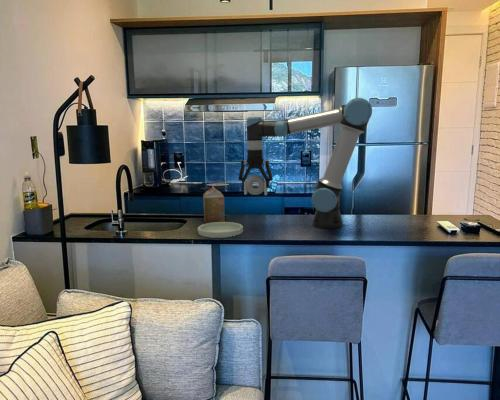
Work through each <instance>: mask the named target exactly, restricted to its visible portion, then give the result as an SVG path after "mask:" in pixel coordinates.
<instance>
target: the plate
mask: <svg viewBox="0 0 500 400" xmlns="http://www.w3.org/2000/svg"><path fill="white" fill-rule="evenodd" d="M243 232H244V226H243V225H242V224H241V223H237V222H233V221H231V222H230V221H225V222H213V223H207V224H205V223H203V224H201V225H199V226H198V227H197V233H198V235H199V236H201V237H204V238H212V239H213V238H214V239H222V238H223V239H224V238H226V239H227V238H232V236H233V237H236V235H237V236H238V235H241V234H243Z"/></svg>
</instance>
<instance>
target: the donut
mask: <svg viewBox="0 0 500 400" xmlns="http://www.w3.org/2000/svg"><path fill="white" fill-rule="evenodd" d="M245 181H246V189H247V193H249V194H250V195H253V196H254V195H255V196H259V195H260V194H262V193H264V182H265V181H266V180H265V179H264V177H263V176H261V175H257V174H252V175H250V176H249V177H247V178H246V180H245ZM254 183H258V186H257V187H256V188H255V187H253V184H254Z"/></svg>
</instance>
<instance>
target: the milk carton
mask: <svg viewBox="0 0 500 400" xmlns="http://www.w3.org/2000/svg"><path fill="white" fill-rule="evenodd" d="M211 186H212V187H211V188H210V189H208V190H207V191H204V193H203V194H202V197H203V199H202V200H203V201H202V202H203V220H204V224H207V223H213V222H226V220H225V219H226V217H225V216H226V215H225V213H226V212H225V196H224V194H223V193H222V192H221V191H219V189H216V188H215V187H214V185H211Z"/></svg>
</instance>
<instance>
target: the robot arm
mask: <svg viewBox="0 0 500 400" xmlns="http://www.w3.org/2000/svg"><path fill="white" fill-rule="evenodd" d="M372 107H373V106H372V104H371V103H370V102H369V101H368V100H367V99H365V98H363V97H354V98H352V99H350V100H349V101H348V102H347V103H346V104H343V105H339V107H338V108H334V109H329V110H325V111H319V112H315V113H310V114H305V115H301V116H297V117H291V118H287V119H282V120H263V118H262V117H261V116H252V117H251V116H250V117H249V116H248V117H247V118H246V126H245V127H246V148H247V149H248V150H247V152H246V153H247V155H246V158H247V159H245V160H244V159H243V160H240V162H241V167H240V171H239V175H238V177H237V178H238V181H240V182H241V187H242V188H243V193H244V195H248V191H247V189H246V181H247V179H248V176H249V174H250V172H251V170H252V169H258V170H259V172H260V174H261V175H262V178H263V179H264V180H265V182H264V191H263V193H264V196H267V195H268V189H269V188H270V181H273V179H274V178H273V174H272V170H271V167H270V160H266V159H265V160H264V158H263V155H264V154H263V138H264V137H265V138H266V137H267V138H273V137H278V138H280V137H286V136H287V135H291V134H297V133H301V132H307V131H311V130H316V129H321V128H326V127H332V126H338V125H340V128H341V129H340V132H339V134H338V138H337V140H336V143H335V145H334V148H333V150H332V152H331V153H332V154H331V156H330V158H329V162H328V164H327V167H326V169H325V172H324V175H323V177H321V178H319V179H318V180H317V181H316V185H315V189H314V191H313V193H312V195H311V204H312V206H313V208H315V212H314V216H313V219H312V226H313V227H315V228H319V229H328V230H329V229H330V230H334V229H339V228H340V229H341V228H342V227H343V226H344V225H343V224H344V223H343V218H342V214H341V211H340V203H341V202H340V199H341V198H340V196H341V192H342V190H343V186H342V182H343V179H344V177H345V173H346V172H347V168H348V167H349V163H350V161H351V158H352V156H353V152H354V150H355V148H356V145H357V143H358V140H359V137H360V135H362V134H363V133H365V132H366V129H367V126H368V123H369V121H370V119H371V117H372V113H373V108H372ZM263 164H264V165H265V170H266V171H265V170H264V167H263ZM246 165H248V167H247V169H246V171H245V167H246ZM244 172H245V173H244Z"/></svg>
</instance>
